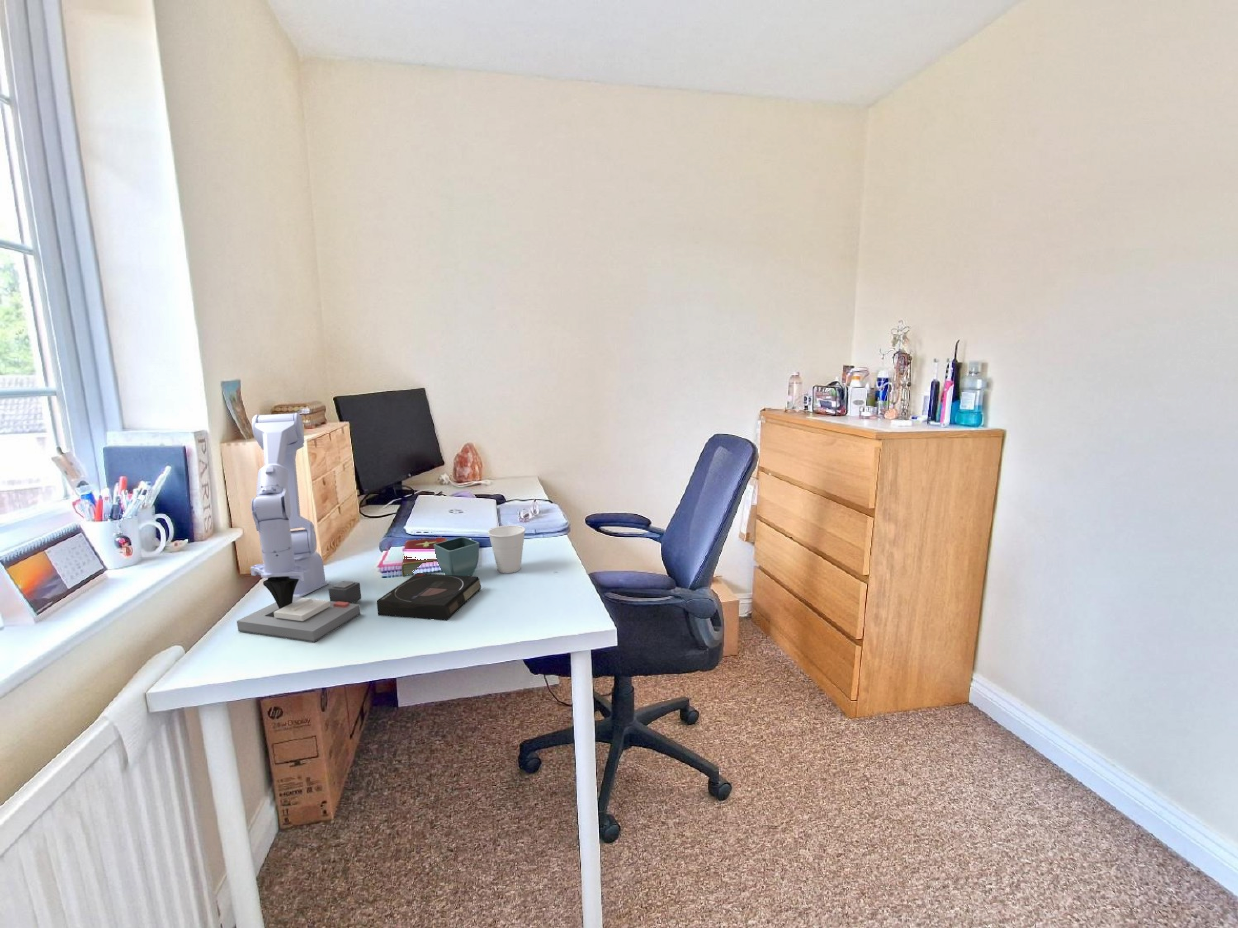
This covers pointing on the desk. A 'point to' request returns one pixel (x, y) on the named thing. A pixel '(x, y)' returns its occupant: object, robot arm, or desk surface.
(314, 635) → the socket plate
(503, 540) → the cup
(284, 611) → the shutter
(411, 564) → the hardcover book
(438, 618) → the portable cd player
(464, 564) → the flower pot
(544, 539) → the desk surface
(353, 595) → the plug
